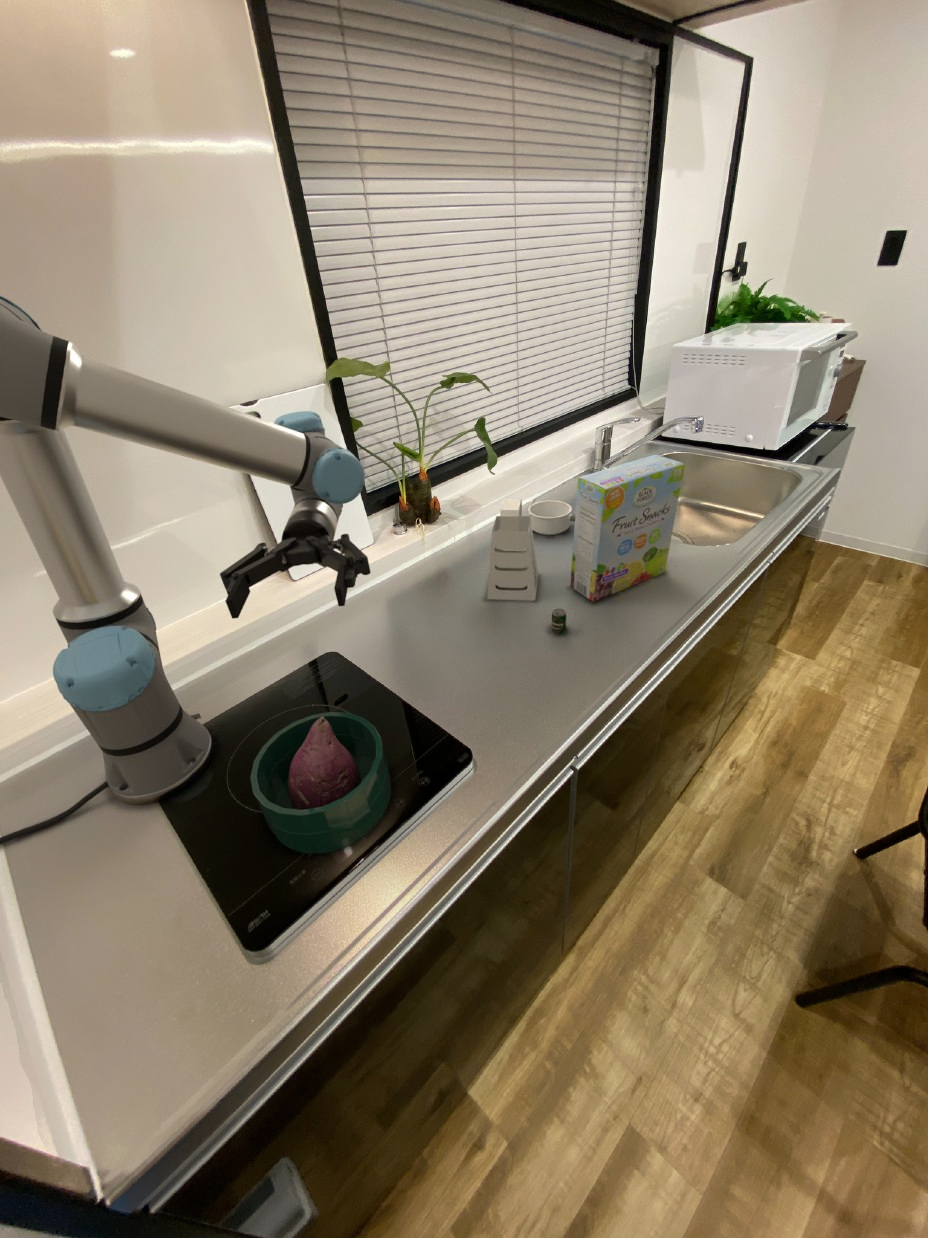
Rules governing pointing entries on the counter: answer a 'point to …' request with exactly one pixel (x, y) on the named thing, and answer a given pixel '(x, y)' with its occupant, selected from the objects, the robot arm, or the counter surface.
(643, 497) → the snack box
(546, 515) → the saucepan
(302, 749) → the vegetable
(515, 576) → the grater
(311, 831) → the pot
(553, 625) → the beer can
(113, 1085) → the counter surface
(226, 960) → the counter surface
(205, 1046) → the counter surface
